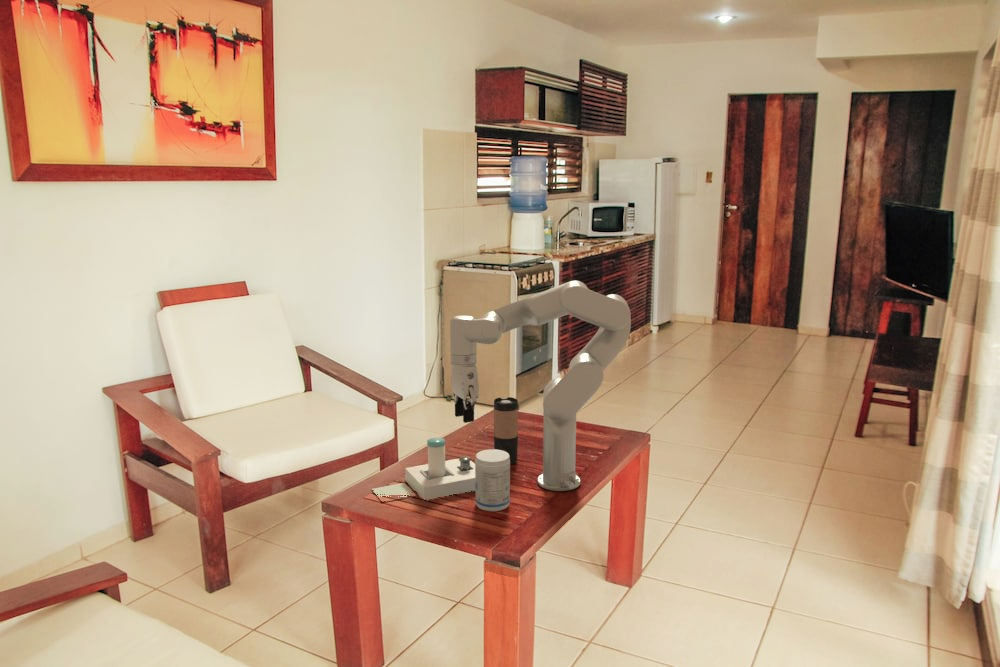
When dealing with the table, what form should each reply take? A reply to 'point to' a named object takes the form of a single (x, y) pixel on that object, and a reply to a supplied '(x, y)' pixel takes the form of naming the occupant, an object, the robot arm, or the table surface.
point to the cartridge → (436, 457)
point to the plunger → (465, 463)
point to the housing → (441, 480)
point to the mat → (393, 490)
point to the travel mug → (506, 426)
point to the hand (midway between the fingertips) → (464, 418)
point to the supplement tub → (492, 480)
